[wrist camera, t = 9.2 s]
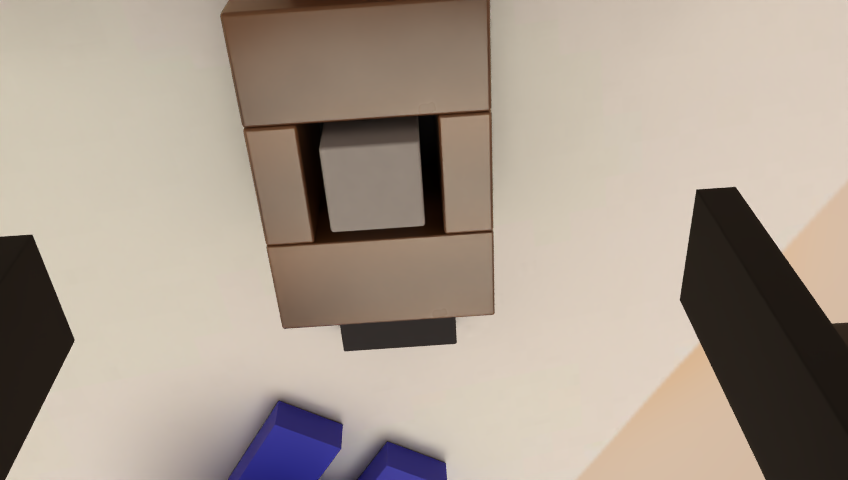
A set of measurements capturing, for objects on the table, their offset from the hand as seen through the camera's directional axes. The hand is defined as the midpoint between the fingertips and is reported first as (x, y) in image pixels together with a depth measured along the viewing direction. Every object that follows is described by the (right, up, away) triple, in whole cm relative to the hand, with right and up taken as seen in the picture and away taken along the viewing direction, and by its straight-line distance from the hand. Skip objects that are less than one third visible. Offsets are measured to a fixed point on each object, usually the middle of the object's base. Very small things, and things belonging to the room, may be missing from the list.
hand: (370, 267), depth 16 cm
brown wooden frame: (0, +4, +7) cm, 8 cm away
